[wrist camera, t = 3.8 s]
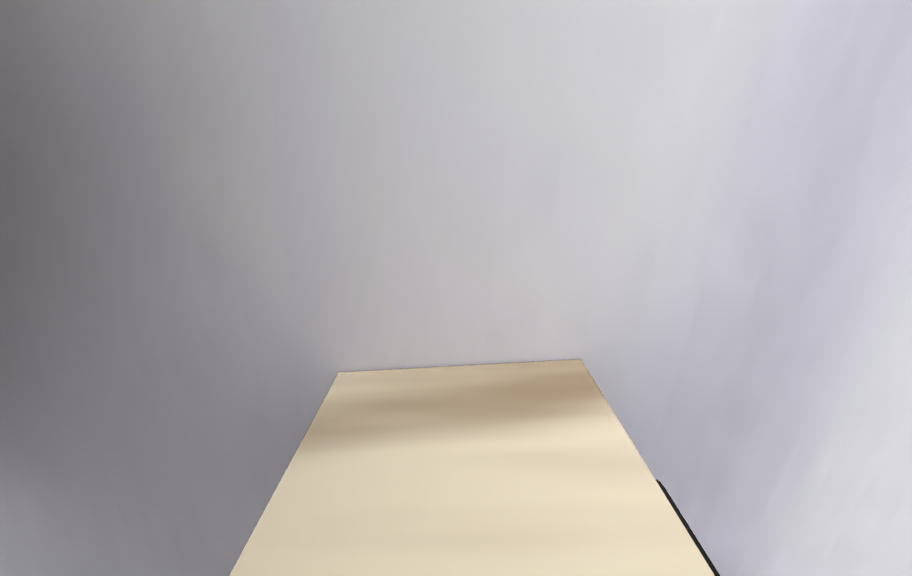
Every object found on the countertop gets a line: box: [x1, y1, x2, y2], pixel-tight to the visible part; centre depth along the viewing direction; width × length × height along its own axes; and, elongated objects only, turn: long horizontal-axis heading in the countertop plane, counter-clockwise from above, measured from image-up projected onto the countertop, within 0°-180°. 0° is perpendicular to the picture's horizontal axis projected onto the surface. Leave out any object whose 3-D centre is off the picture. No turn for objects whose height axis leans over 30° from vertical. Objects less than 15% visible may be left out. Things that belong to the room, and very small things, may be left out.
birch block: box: [229, 359, 715, 576], centre depth 9 cm, size 6×6×6 cm
